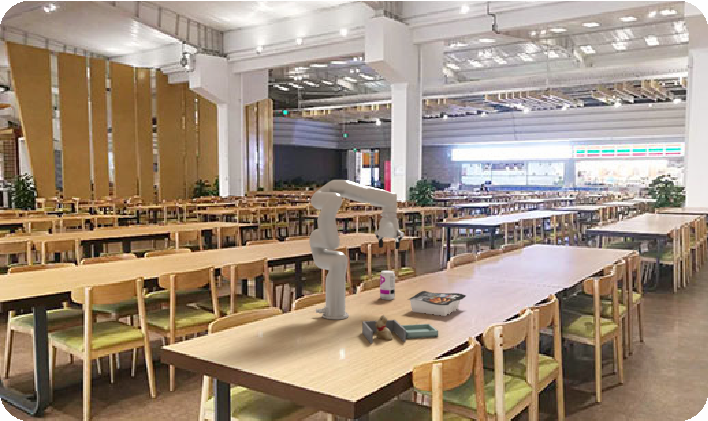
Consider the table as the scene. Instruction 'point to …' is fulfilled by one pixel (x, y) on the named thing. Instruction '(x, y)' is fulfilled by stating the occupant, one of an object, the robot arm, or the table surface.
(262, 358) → the table surface
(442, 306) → the food packaging
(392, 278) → the supplement can
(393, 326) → the bay
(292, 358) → the table surface
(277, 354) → the table surface
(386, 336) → the chocolate bunny
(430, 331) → the tray
